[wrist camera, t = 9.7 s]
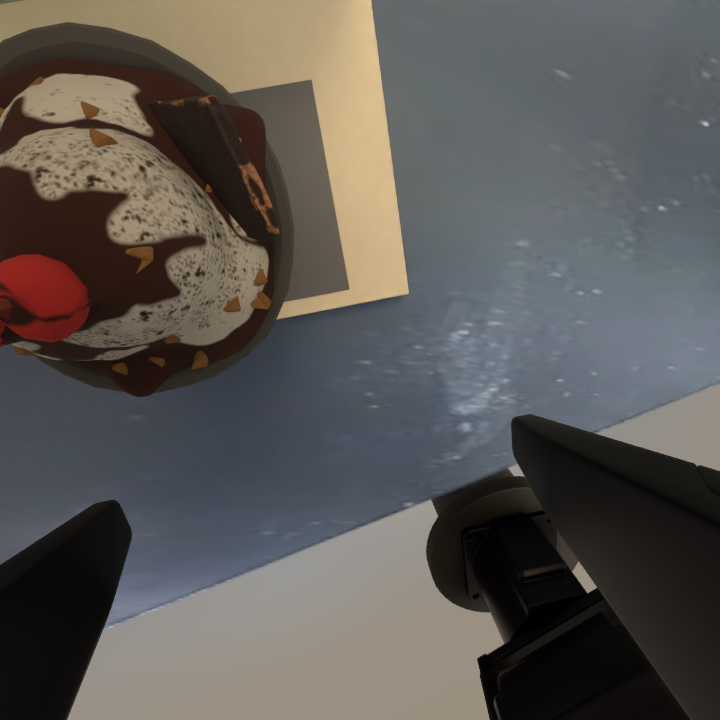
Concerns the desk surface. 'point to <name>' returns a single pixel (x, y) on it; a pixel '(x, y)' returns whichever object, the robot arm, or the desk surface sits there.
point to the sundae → (133, 212)
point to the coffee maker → (287, 120)
